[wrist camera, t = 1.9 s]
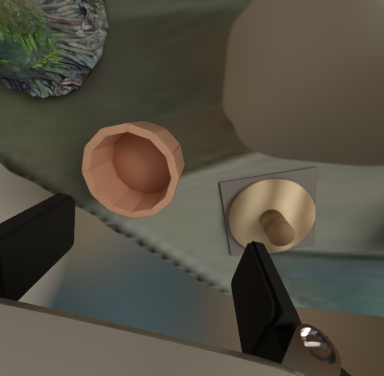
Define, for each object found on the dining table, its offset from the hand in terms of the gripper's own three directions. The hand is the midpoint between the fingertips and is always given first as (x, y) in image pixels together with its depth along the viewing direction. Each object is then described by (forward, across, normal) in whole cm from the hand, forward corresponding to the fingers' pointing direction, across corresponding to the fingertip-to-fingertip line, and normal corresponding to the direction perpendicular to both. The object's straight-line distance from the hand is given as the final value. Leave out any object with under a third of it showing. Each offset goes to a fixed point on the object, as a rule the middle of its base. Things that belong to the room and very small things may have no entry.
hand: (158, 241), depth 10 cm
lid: (+24, -17, +7) cm, 30 cm away
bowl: (+24, +7, +3) cm, 25 cm away
